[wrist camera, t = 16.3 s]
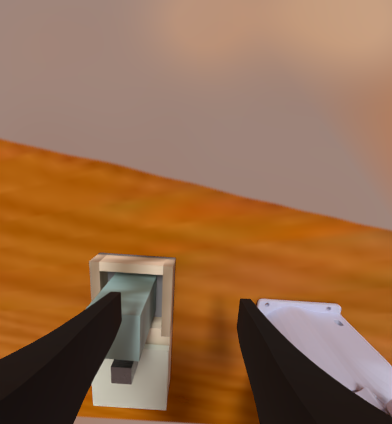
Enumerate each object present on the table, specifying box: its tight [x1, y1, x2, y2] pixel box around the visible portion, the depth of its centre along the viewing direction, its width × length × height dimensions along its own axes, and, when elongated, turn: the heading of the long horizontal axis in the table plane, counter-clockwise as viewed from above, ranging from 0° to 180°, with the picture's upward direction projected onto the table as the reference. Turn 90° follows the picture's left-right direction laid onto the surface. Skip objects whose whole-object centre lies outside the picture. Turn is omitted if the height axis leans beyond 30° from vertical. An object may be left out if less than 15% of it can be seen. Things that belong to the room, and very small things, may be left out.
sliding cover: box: [92, 344, 169, 410], centre depth 20 cm, size 8×8×3 cm
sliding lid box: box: [89, 253, 175, 398], centre depth 21 cm, size 8×18×2 cm, turn 176°
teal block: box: [86, 272, 157, 361], centre depth 18 cm, size 4×4×6 cm
